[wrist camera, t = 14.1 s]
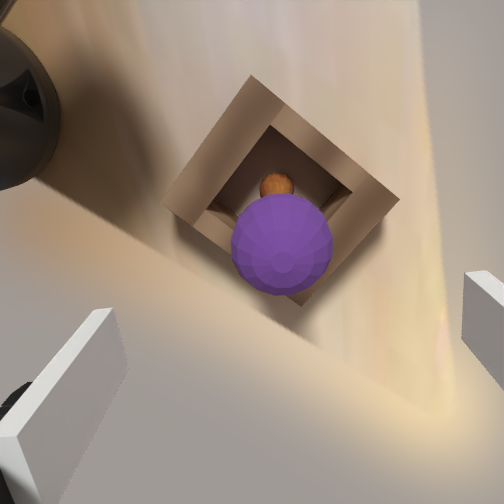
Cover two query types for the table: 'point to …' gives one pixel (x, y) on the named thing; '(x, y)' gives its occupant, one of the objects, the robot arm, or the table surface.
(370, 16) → the table surface
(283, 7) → the table surface
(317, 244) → the kendama
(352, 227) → the socket block
